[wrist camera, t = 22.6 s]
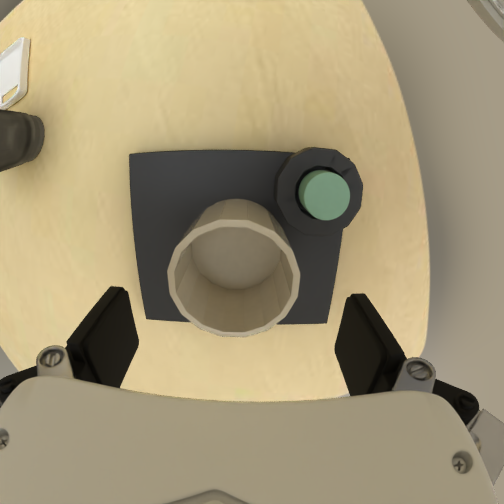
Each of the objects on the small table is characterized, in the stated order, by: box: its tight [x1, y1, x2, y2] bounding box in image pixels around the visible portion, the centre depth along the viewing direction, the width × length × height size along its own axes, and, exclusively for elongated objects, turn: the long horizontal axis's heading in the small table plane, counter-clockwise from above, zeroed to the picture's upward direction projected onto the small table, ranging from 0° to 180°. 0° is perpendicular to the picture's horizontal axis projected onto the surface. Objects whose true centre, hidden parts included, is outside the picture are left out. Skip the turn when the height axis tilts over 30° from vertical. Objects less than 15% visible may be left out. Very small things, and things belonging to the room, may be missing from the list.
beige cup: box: [167, 199, 300, 337], centre depth 18 cm, size 7×7×6 cm
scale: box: [129, 147, 363, 324], centre depth 20 cm, size 16×14×3 cm
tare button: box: [299, 170, 350, 220], centre depth 17 cm, size 3×3×2 cm
